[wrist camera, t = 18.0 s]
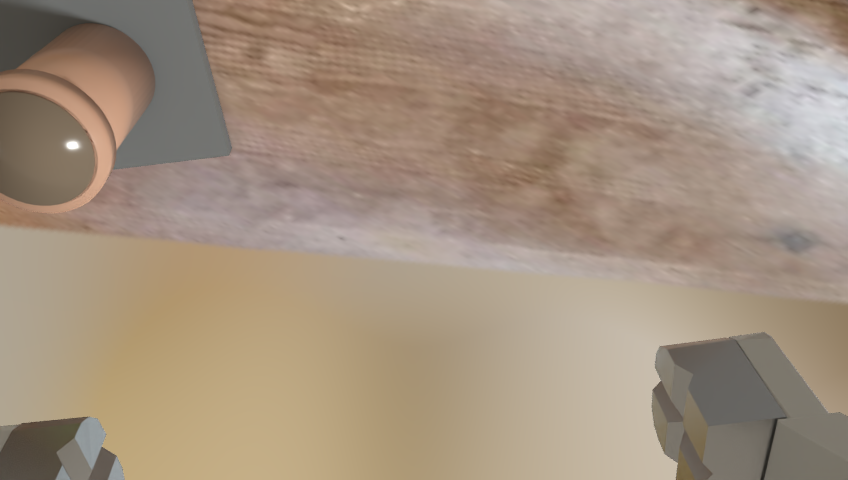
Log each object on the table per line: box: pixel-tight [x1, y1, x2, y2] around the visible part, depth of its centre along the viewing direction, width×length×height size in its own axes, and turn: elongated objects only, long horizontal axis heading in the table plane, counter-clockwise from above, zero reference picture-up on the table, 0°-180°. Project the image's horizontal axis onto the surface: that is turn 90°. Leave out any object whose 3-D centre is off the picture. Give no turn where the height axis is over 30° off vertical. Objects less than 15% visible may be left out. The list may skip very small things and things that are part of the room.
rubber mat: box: [0, 0, 232, 170], centre depth 38 cm, size 11×11×1 cm
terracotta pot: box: [0, 23, 155, 213], centre depth 34 cm, size 6×6×9 cm
